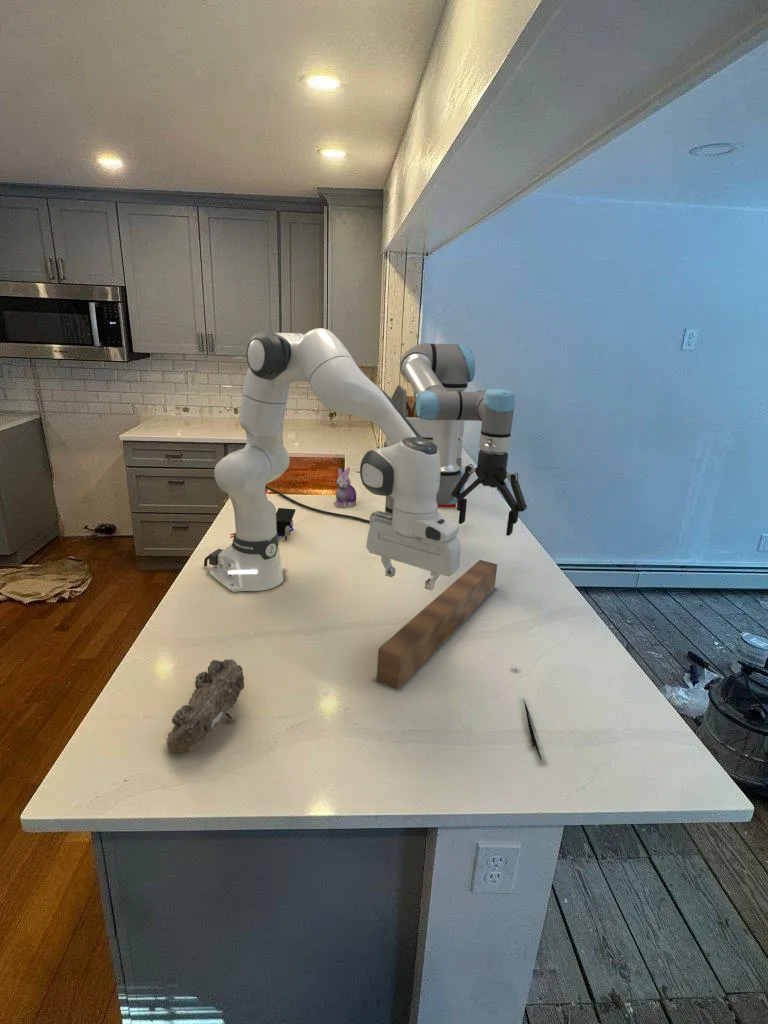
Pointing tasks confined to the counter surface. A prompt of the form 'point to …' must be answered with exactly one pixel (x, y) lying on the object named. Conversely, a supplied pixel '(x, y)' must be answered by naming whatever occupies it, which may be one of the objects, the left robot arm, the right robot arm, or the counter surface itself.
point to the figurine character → (284, 522)
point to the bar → (434, 624)
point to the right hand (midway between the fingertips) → (484, 528)
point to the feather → (532, 731)
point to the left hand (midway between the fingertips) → (409, 582)
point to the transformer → (420, 420)
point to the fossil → (206, 705)
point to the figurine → (345, 490)
